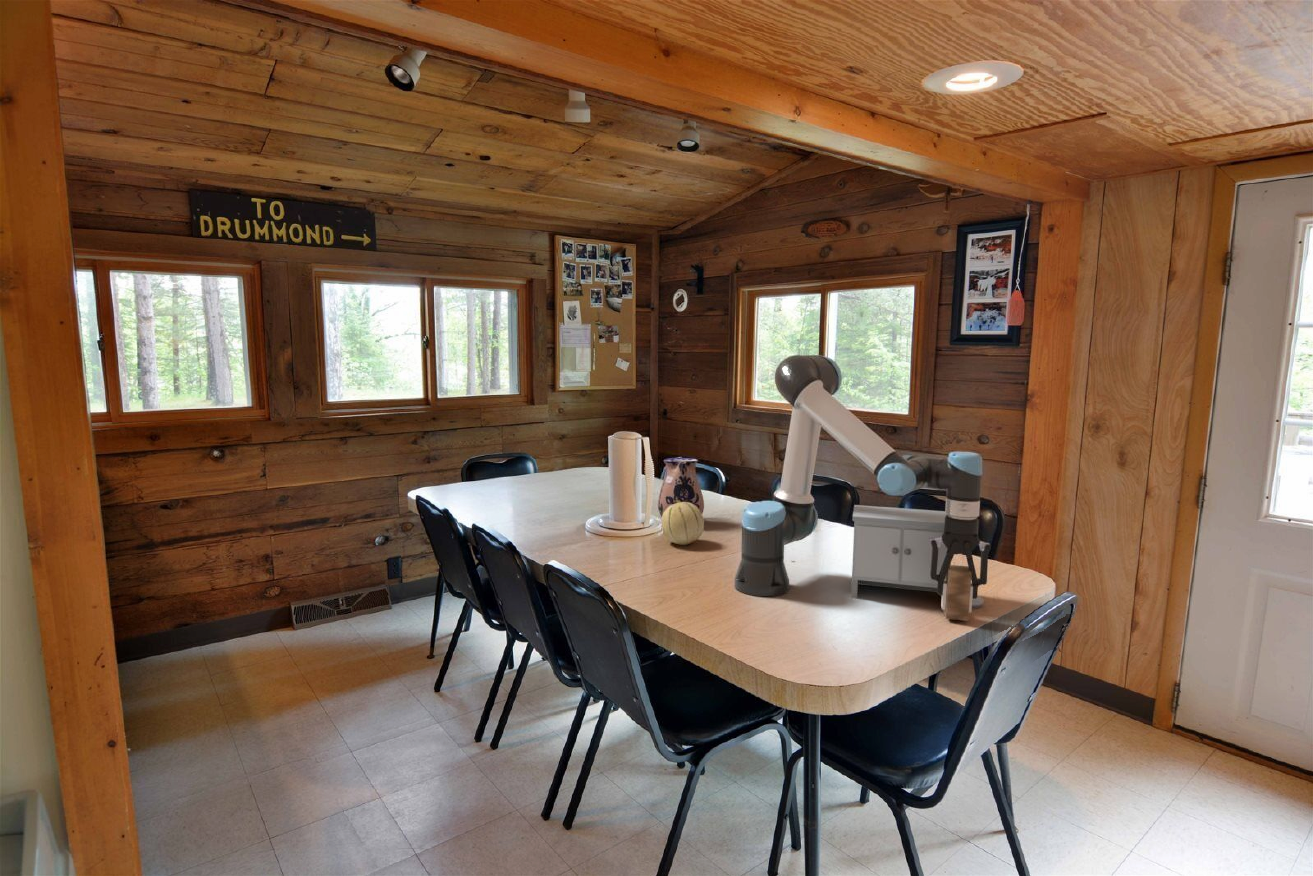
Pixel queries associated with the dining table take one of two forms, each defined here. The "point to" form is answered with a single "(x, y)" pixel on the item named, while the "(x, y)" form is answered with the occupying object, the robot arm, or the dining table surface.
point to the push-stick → (958, 592)
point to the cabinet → (896, 547)
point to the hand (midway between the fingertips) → (956, 609)
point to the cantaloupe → (682, 523)
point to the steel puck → (977, 602)
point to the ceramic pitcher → (680, 484)
